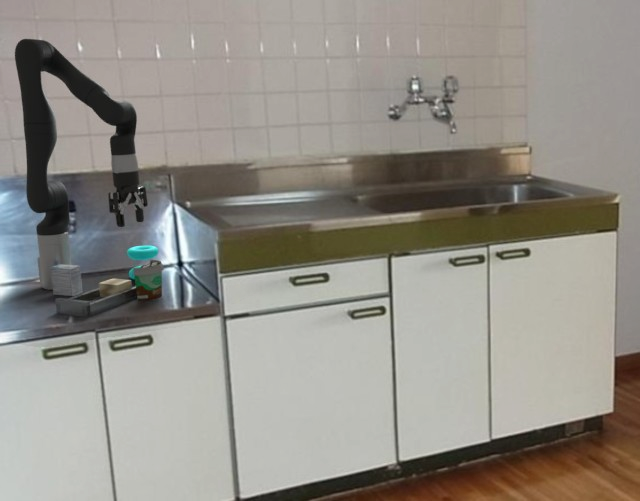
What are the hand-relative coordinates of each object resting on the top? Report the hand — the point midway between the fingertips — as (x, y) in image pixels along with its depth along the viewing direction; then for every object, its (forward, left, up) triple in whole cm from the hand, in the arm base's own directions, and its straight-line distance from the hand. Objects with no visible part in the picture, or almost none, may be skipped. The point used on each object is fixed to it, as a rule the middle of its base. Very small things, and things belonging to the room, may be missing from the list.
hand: (130, 224), depth 221 cm
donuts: (-9, +15, -21) cm, 27 cm away
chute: (0, -15, -21) cm, 25 cm away
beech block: (0, -9, -20) cm, 21 cm away
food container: (+10, -4, -21) cm, 23 cm away
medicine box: (-18, -10, -21) cm, 29 cm away
